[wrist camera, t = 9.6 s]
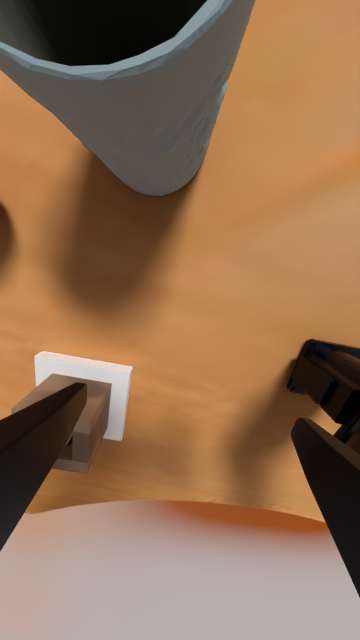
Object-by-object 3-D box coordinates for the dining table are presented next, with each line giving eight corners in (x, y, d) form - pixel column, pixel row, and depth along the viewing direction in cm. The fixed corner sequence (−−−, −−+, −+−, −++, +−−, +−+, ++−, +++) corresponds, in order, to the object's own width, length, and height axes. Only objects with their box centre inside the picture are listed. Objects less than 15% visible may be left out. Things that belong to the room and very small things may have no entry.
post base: (132, 366, 21) (115, 404, 15) (124, 432, 24) (107, 483, 18) (42, 350, 20) (-8, 384, 15) (45, 420, 23) (4, 468, 18)
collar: (111, 383, 20) (90, 421, 15) (107, 427, 22) (86, 473, 17) (52, 373, 20) (11, 409, 15) (53, 418, 22) (17, 463, 17)
